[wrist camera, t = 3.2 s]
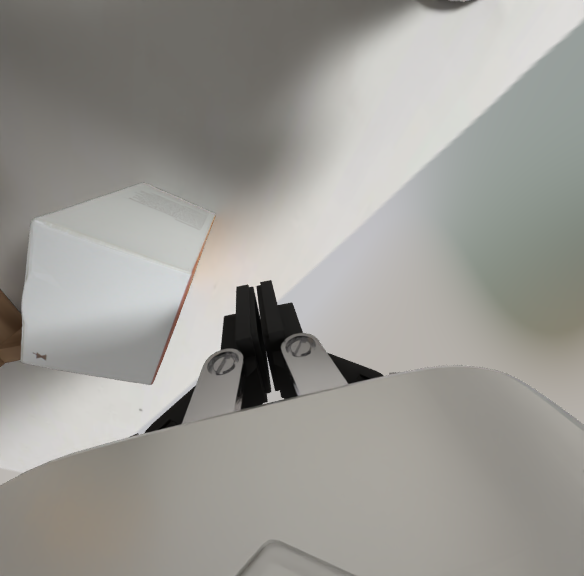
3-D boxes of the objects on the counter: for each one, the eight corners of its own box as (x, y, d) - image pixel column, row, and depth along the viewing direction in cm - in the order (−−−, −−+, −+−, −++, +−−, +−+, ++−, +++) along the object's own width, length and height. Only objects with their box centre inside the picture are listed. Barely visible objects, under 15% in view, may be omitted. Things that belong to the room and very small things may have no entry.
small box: (191, 284, 26) (151, 389, 15) (123, 262, 24) (13, 366, 12) (218, 212, 23) (194, 274, 12) (142, 179, 21) (21, 215, 9)
